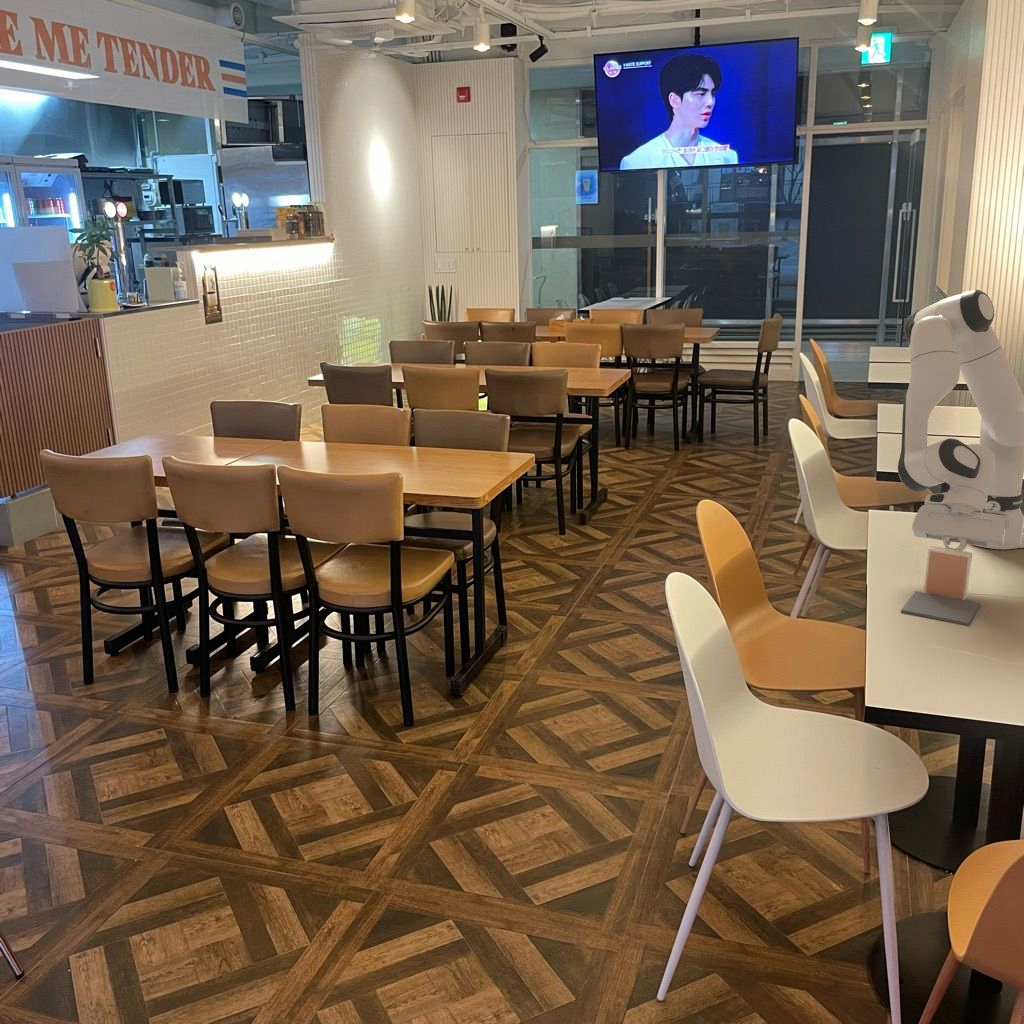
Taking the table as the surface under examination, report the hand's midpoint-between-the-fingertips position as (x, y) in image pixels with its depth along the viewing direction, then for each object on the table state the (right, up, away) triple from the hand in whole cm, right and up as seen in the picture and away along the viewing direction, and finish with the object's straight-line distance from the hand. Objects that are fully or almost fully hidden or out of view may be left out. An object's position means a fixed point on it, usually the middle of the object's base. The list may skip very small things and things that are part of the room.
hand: (950, 556), depth 232 cm
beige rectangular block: (-2, -9, -1) cm, 9 cm away
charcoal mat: (-6, -11, -9) cm, 16 cm away
